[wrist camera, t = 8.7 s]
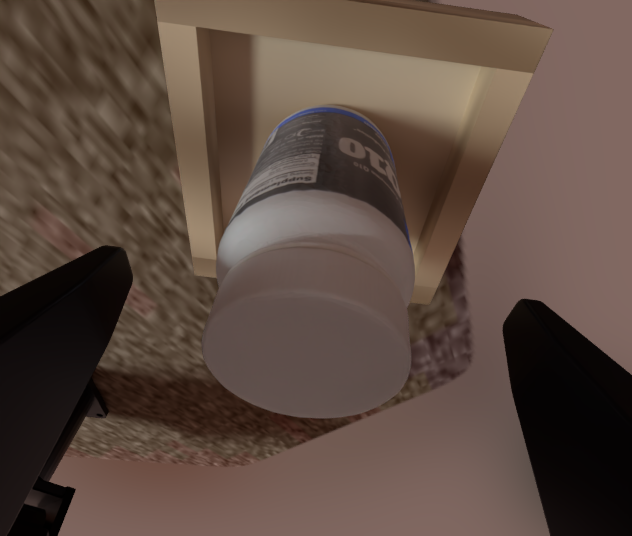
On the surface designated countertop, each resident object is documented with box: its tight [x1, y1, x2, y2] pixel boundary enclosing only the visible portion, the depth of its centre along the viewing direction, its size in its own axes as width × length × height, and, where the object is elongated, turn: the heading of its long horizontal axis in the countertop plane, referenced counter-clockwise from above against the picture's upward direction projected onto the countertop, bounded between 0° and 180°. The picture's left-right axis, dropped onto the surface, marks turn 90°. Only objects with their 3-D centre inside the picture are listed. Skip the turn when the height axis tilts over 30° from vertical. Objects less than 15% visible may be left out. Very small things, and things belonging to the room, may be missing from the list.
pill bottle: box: [202, 105, 415, 418], centre depth 10 cm, size 5×5×8 cm
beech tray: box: [154, 0, 553, 305], centre depth 13 cm, size 10×10×3 cm
